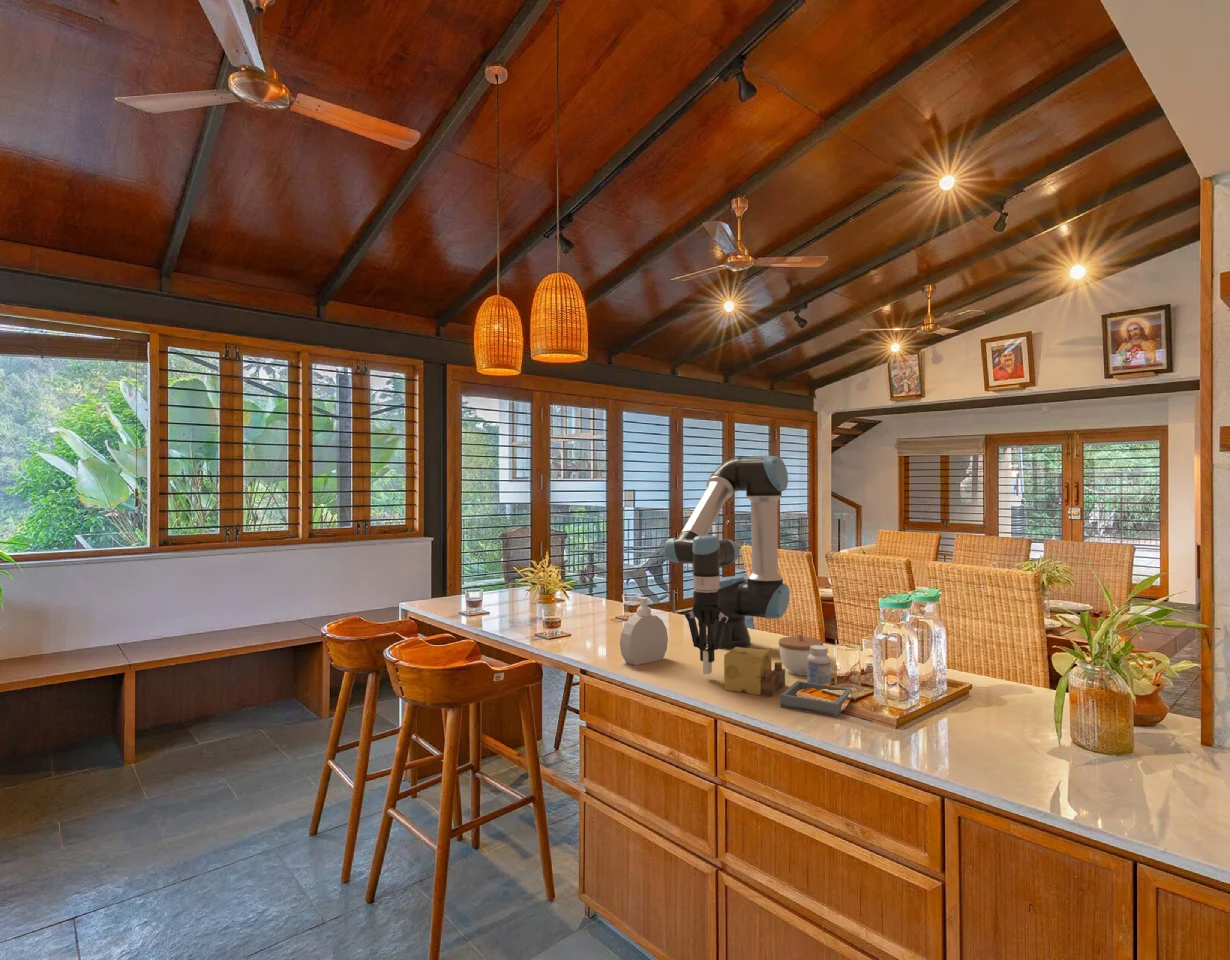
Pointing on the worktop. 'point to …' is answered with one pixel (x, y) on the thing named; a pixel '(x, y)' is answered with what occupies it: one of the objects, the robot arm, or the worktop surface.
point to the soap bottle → (643, 637)
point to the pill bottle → (819, 665)
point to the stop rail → (772, 680)
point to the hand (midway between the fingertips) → (707, 672)
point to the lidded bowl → (796, 652)
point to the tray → (812, 705)
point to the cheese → (745, 669)
